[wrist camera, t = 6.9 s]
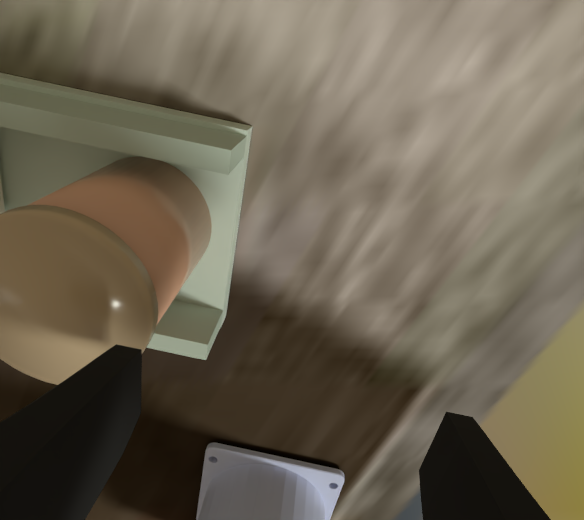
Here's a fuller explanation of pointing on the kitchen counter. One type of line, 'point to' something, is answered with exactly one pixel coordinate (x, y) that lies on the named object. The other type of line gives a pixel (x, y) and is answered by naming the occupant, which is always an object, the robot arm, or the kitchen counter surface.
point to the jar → (96, 265)
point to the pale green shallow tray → (121, 144)
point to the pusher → (1, 199)
